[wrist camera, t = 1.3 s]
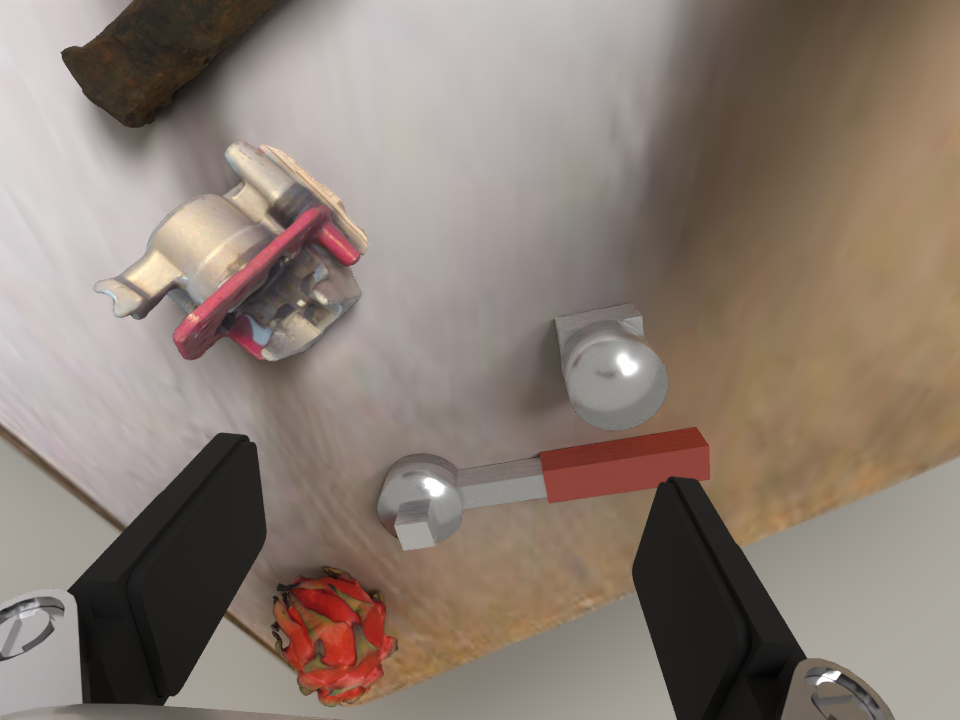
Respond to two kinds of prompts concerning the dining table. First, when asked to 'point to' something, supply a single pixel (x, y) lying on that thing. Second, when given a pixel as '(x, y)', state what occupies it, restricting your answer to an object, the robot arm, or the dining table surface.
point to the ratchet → (530, 481)
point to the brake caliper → (249, 261)
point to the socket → (610, 367)
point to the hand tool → (156, 52)
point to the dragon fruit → (332, 636)
